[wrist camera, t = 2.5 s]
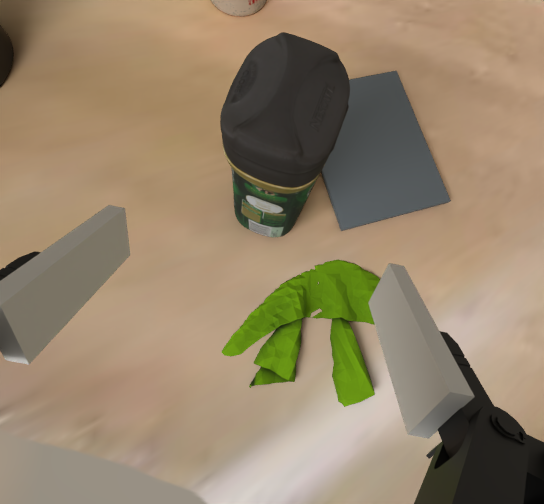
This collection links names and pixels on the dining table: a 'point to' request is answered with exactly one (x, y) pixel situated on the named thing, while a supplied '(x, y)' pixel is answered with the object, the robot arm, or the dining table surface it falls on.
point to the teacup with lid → (239, 6)
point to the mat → (380, 157)
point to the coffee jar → (281, 128)
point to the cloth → (301, 303)
